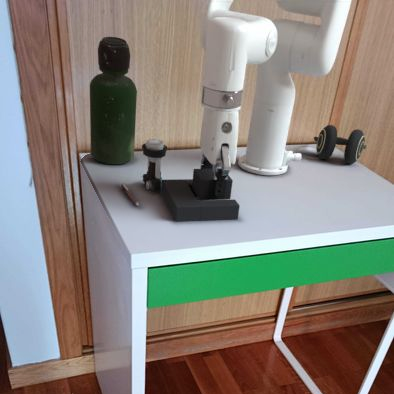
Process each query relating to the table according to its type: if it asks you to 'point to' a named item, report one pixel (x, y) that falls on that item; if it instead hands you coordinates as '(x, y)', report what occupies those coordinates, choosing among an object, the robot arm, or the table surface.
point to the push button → (153, 164)
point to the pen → (129, 194)
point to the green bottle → (113, 104)
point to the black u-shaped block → (195, 203)
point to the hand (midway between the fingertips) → (211, 190)
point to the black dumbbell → (330, 139)
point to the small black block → (207, 184)
